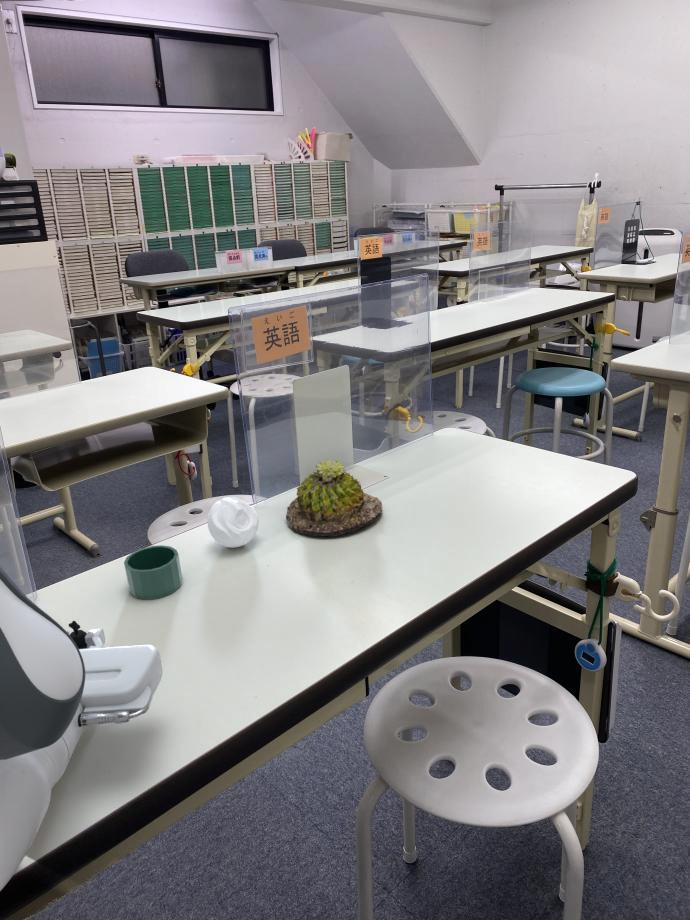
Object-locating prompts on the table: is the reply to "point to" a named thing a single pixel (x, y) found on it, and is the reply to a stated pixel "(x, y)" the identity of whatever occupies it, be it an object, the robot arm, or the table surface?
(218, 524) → the white swirled ball
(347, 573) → the table surface
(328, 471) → the cactus
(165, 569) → the green round container
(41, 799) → the robot arm
